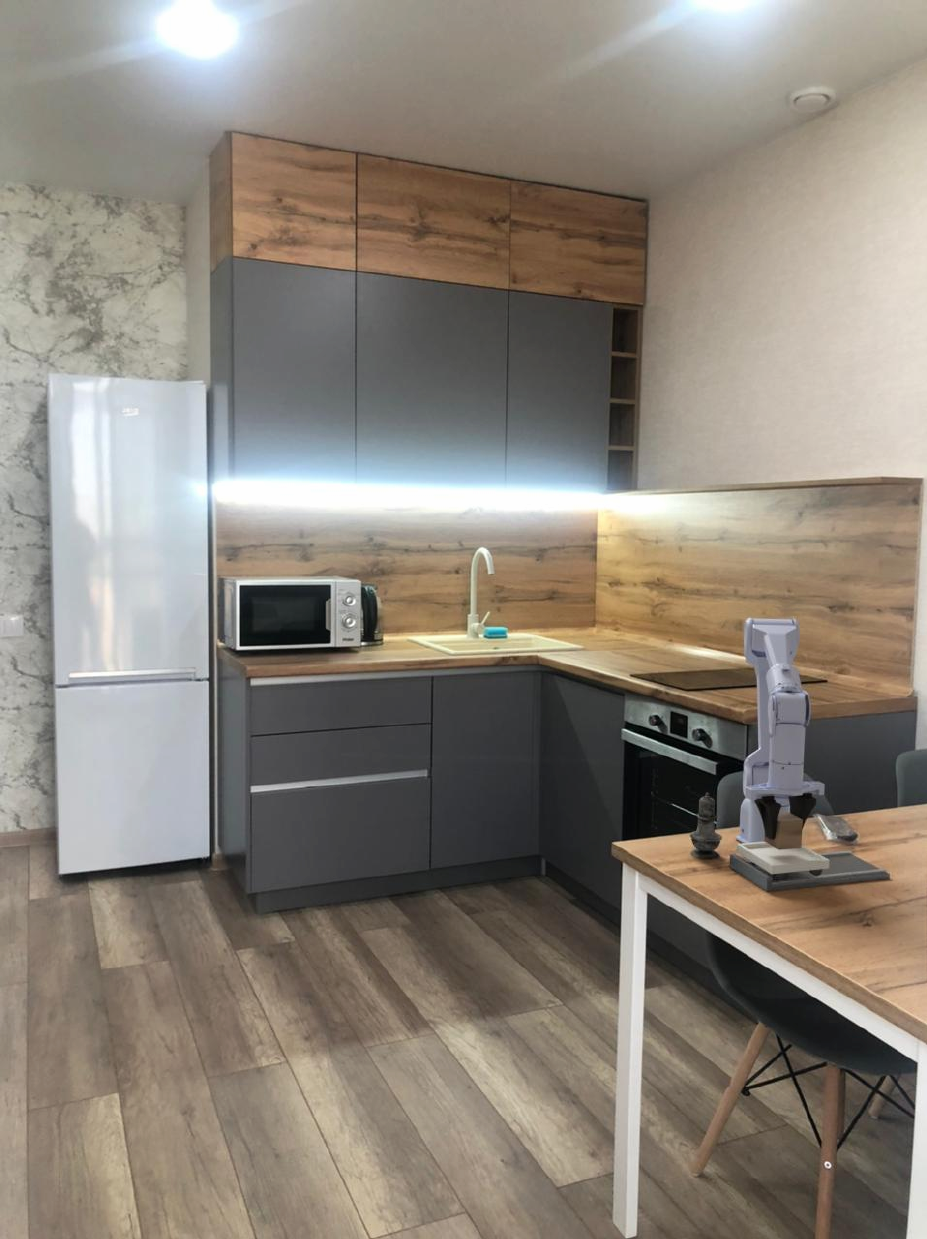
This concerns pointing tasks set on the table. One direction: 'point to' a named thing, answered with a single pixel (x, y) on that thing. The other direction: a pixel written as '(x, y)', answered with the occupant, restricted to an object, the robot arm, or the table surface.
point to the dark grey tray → (840, 871)
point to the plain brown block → (787, 832)
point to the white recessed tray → (783, 859)
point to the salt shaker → (705, 831)
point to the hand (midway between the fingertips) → (782, 836)
